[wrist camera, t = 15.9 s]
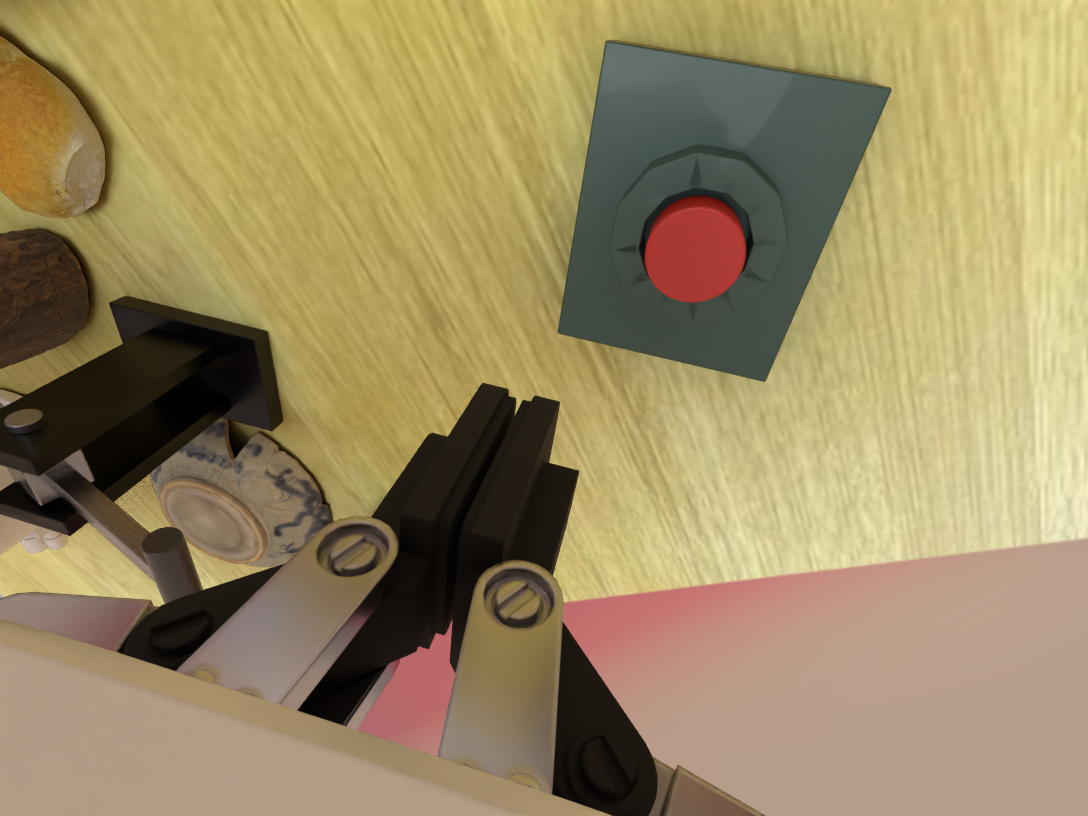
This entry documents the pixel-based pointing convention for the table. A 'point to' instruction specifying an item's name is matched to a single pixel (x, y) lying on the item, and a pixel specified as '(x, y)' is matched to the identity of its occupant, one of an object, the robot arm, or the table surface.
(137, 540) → the lever
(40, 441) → the lever bracket
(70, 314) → the statue
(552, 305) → the table surface
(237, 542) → the decorative bowl
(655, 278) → the button
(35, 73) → the bread roll
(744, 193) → the block
